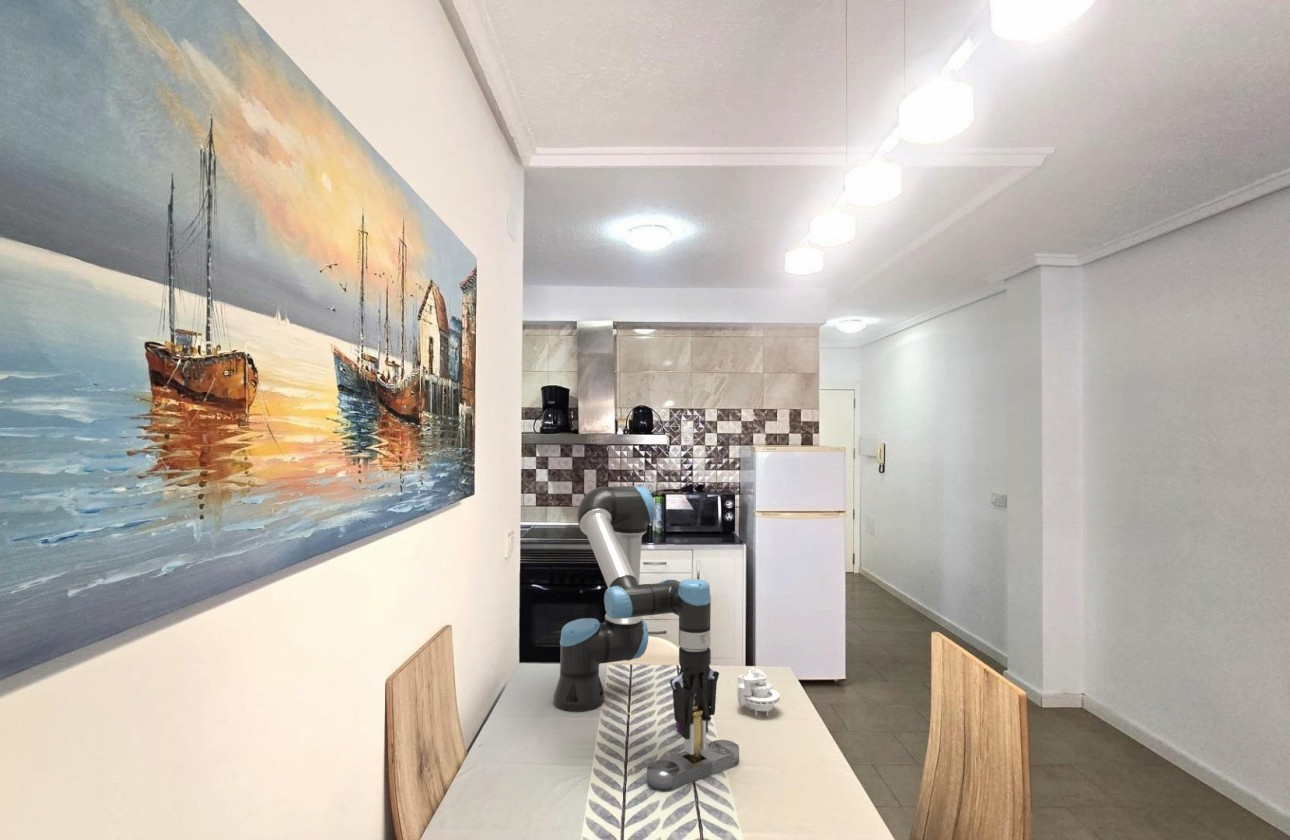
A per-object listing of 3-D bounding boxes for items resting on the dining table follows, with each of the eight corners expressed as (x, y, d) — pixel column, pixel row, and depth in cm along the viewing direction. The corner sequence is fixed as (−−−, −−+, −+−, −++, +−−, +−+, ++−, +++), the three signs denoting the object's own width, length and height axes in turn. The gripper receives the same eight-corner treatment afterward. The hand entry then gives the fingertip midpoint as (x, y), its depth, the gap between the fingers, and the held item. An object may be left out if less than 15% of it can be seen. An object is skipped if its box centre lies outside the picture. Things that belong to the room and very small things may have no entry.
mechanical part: (777, 723, 163) (777, 679, 164) (734, 716, 167) (734, 674, 168) (781, 707, 174) (781, 666, 175) (741, 701, 178) (740, 661, 178)
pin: (683, 770, 138) (683, 708, 139) (696, 765, 140) (696, 704, 141) (693, 777, 135) (693, 714, 136) (706, 772, 137) (706, 710, 138)
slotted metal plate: (640, 779, 134) (640, 766, 134) (724, 749, 148) (724, 737, 148) (659, 795, 128) (659, 780, 128) (745, 761, 142) (745, 749, 142)
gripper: (677, 657, 132) (677, 766, 130) (730, 645, 141) (731, 747, 139) (658, 648, 138) (658, 752, 137) (710, 637, 147) (710, 735, 146)
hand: (695, 749), depth 138 cm, fingers closed on pin, 3 cm apart
